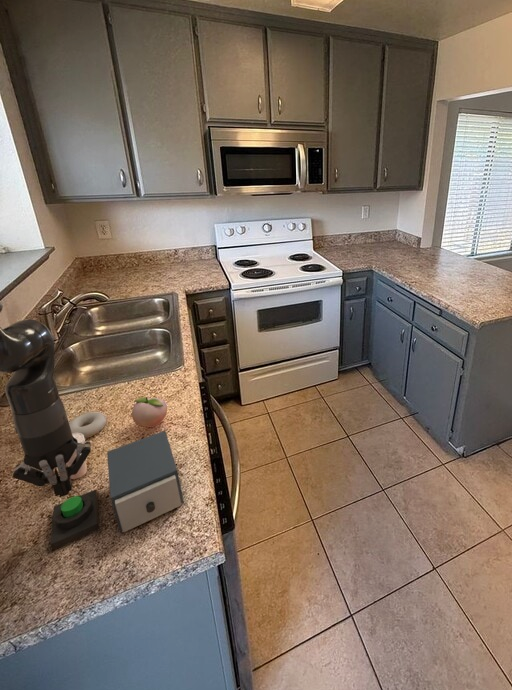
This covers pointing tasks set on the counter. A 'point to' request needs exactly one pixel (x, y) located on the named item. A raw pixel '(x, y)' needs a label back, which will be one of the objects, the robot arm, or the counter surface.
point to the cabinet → (140, 466)
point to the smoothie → (83, 468)
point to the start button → (72, 506)
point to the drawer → (148, 503)
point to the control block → (75, 521)
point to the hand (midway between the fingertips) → (64, 492)
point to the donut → (91, 418)
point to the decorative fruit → (149, 411)
